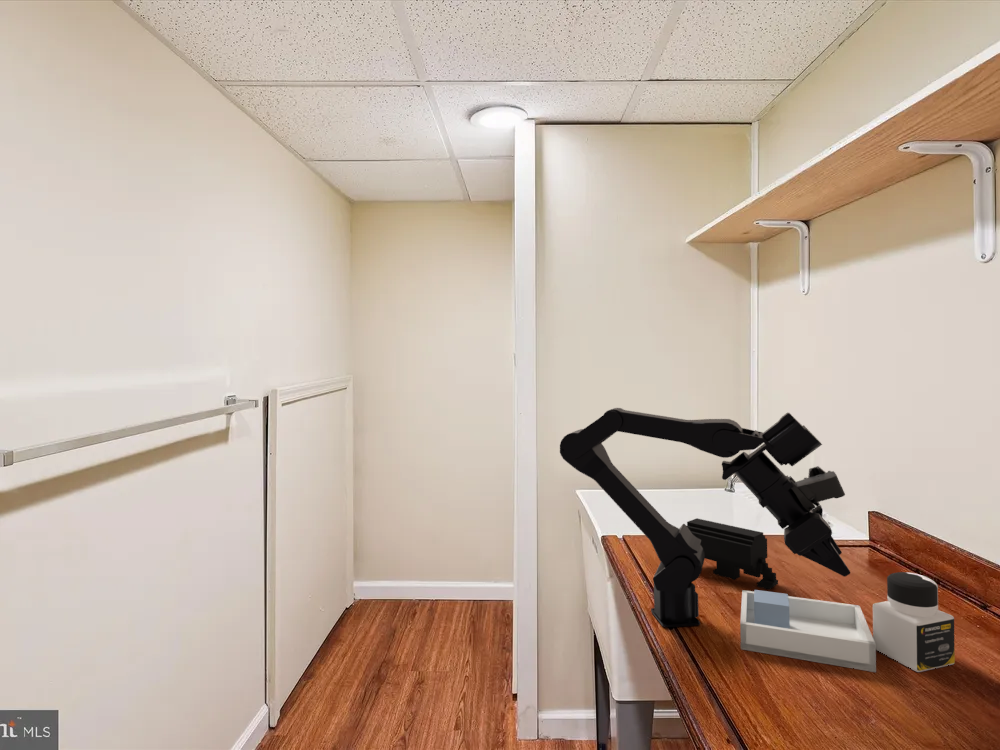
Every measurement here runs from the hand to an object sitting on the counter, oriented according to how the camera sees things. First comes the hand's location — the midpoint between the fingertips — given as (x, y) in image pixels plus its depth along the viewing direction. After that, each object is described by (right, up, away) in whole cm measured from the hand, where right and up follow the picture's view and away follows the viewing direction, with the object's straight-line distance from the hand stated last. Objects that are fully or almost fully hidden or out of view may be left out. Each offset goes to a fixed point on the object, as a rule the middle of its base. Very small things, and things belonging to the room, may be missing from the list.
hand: (843, 564), depth 86 cm
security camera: (-6, -13, +29) cm, 32 cm away
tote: (-5, -13, +3) cm, 14 cm away
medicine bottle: (+8, -13, -3) cm, 16 cm away
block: (-9, -12, +4) cm, 16 cm away
